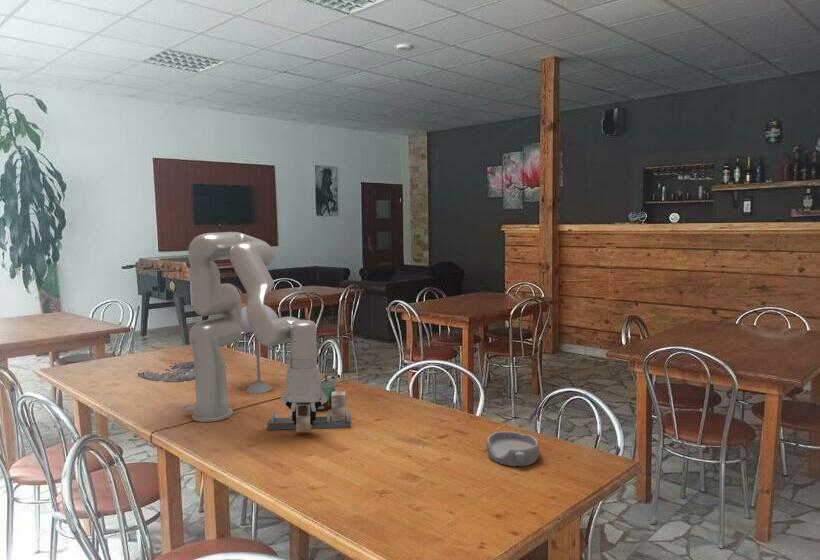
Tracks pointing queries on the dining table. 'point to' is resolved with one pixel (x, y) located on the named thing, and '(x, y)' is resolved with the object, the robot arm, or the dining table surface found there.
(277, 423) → the rail
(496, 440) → the dish
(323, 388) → the food container
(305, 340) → the robot arm
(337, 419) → the block
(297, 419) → the block
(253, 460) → the dining table surface
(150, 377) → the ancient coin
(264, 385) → the lamp
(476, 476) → the dining table surface
